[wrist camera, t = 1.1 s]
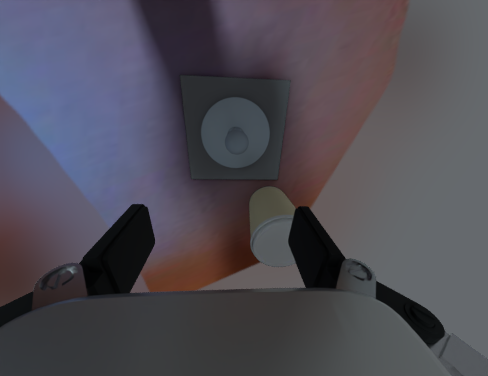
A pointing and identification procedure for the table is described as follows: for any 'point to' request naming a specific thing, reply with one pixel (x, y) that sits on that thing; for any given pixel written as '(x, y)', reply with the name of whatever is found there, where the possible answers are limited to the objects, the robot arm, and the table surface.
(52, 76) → the table surface
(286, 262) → the coffee cup
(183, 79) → the mat
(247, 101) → the lid
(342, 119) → the table surface
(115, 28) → the table surface
